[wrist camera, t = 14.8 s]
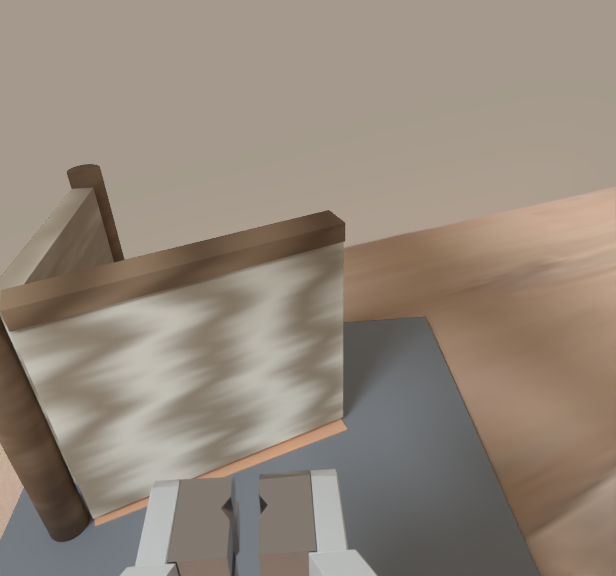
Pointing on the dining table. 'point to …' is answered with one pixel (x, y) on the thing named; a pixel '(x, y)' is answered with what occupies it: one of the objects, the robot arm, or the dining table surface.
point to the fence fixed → (9, 364)
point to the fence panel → (186, 354)
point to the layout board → (344, 478)
